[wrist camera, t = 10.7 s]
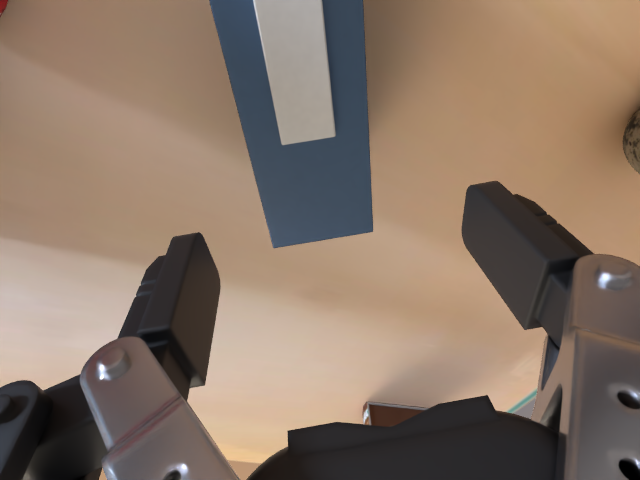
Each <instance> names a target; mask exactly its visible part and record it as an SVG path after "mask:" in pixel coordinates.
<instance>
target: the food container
mask: <svg viewBox="0 0 640 480" xmlns="http://www.w3.org/2000/svg"><path fill="white" fill-rule="evenodd" d="M427 409H429V408H421V407H412V406H402V405H393V404H384V403H375V402H366V404H365V405H364V407H363V422H364V425H374V426H385V427H390V426H394V425H397V424H399V423H401V422H403V421H405V420H407V419H409V418H411V417H413V416H415V415H417V414H419V413H421V412H423V411H425V410H427Z"/></svg>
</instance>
